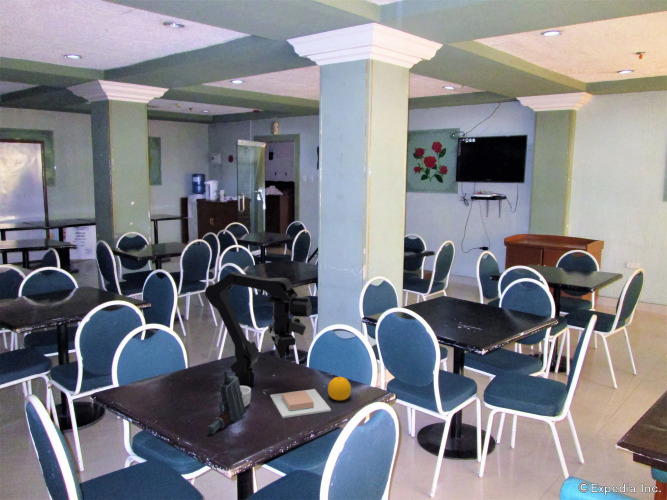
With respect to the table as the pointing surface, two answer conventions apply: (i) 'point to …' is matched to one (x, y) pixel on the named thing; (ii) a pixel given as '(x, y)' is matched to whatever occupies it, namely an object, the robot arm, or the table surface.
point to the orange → (339, 388)
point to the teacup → (246, 394)
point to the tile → (297, 400)
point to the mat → (318, 408)
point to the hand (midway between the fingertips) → (281, 357)
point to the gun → (229, 403)
